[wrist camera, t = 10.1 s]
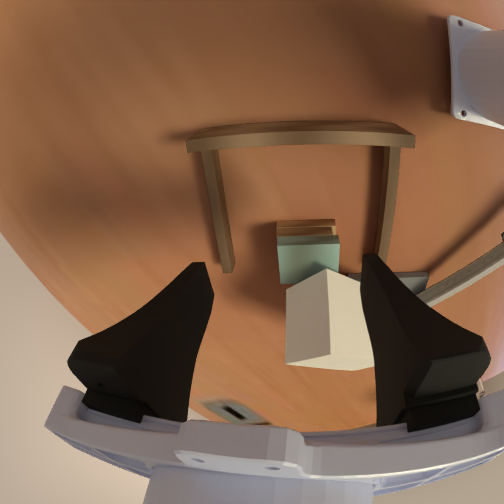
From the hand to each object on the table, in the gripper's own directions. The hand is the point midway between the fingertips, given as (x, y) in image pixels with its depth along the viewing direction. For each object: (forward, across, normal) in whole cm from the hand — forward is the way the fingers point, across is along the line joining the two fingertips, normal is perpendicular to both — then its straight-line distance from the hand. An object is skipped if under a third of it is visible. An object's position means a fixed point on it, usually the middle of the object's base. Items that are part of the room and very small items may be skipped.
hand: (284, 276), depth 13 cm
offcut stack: (+11, -1, +5) cm, 12 cm away
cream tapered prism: (+6, -7, +12) cm, 15 cm away
